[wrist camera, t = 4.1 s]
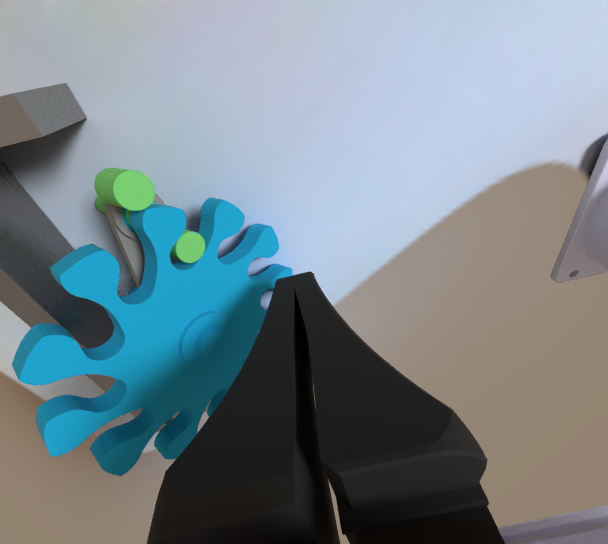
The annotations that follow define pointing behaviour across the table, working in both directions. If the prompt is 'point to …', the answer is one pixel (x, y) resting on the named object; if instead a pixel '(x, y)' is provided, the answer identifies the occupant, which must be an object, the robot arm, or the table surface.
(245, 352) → the gear
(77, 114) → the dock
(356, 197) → the table surface
